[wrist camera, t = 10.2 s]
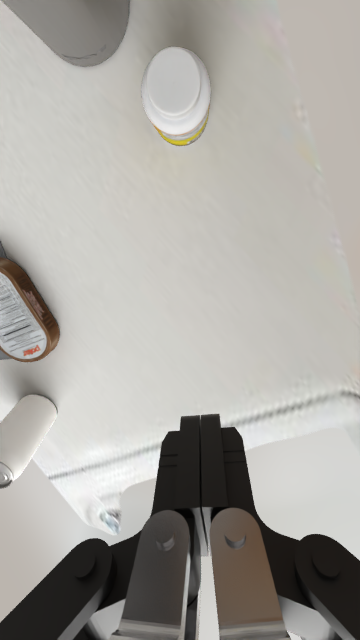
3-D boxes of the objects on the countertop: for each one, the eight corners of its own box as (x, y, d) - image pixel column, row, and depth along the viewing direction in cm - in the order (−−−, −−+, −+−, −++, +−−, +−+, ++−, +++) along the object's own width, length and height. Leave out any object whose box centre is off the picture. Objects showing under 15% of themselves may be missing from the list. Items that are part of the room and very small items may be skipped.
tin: (9, 246, 36) (-39, 269, 38) (-9, 251, 33) (-60, 276, 35) (71, 344, 41) (26, 359, 43) (60, 355, 38) (13, 371, 41)
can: (43, 429, 49) (-1, 497, 38) (12, 407, 47) (-44, 471, 36) (66, 410, 47) (26, 476, 36) (33, 386, 45) (-19, 447, 34)
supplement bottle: (157, 78, 28) (137, 22, 19) (212, 87, 28) (219, 36, 19) (151, 143, 31) (131, 121, 21) (202, 151, 31) (204, 133, 21)
